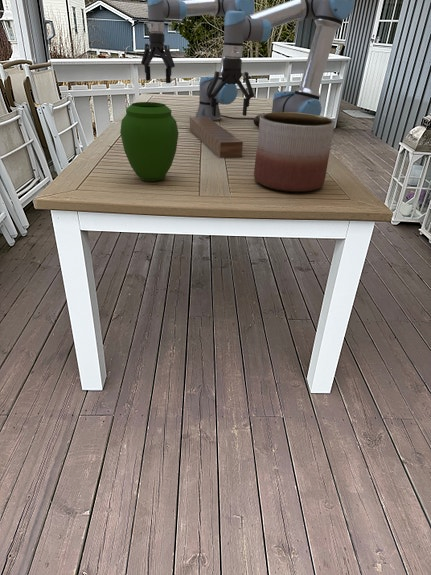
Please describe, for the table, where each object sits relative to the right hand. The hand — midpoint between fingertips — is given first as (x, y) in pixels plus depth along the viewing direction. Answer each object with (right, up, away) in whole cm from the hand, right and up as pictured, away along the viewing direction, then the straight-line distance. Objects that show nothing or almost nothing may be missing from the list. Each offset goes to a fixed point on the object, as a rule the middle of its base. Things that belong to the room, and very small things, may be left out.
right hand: (229, 115), depth 173 cm
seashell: (+20, +18, +60) cm, 66 cm away
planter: (+21, -35, -23) cm, 47 cm away
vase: (-29, -34, -26) cm, 51 cm away
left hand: (-35, +32, +36) cm, 60 cm away
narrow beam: (-7, -2, +27) cm, 27 cm away
